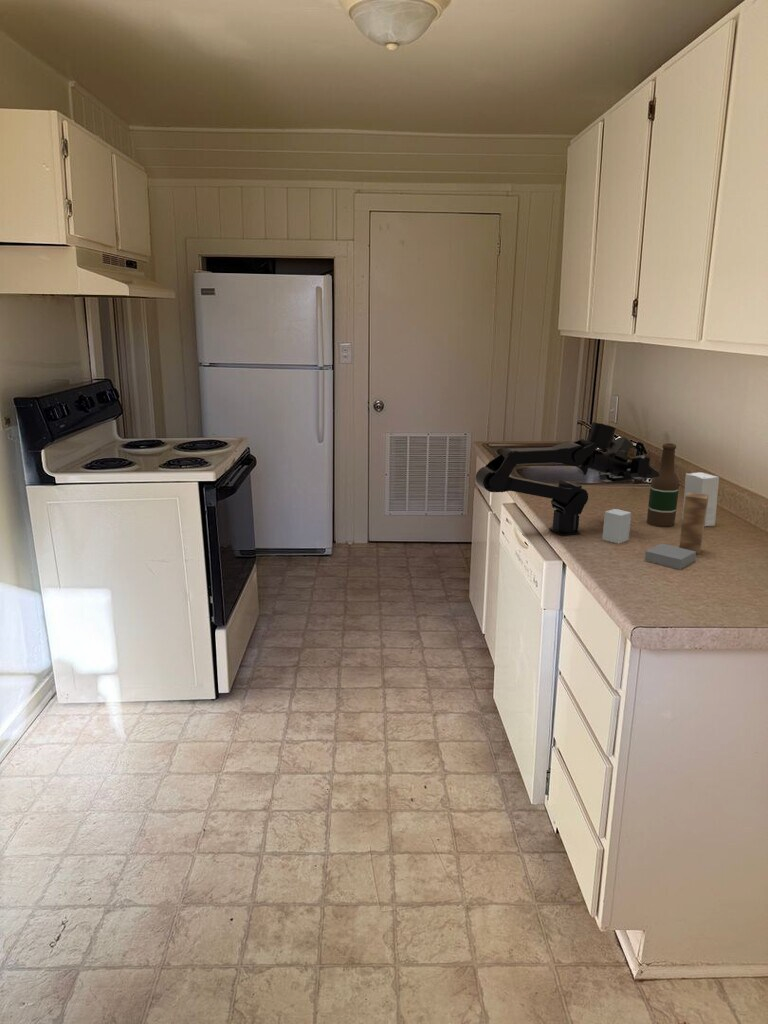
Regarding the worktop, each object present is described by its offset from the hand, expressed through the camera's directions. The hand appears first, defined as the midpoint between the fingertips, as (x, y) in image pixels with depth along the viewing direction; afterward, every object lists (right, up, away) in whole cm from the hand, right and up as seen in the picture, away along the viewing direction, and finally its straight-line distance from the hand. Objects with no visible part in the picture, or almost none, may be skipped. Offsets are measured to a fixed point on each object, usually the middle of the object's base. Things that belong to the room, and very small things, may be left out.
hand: (647, 476), depth 203 cm
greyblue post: (-12, -18, -8) cm, 23 cm away
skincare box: (+18, -14, +8) cm, 24 cm away
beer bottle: (+6, -14, +7) cm, 17 cm away
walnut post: (+5, -21, -17) cm, 27 cm away
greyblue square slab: (-4, -23, -25) cm, 34 cm away
